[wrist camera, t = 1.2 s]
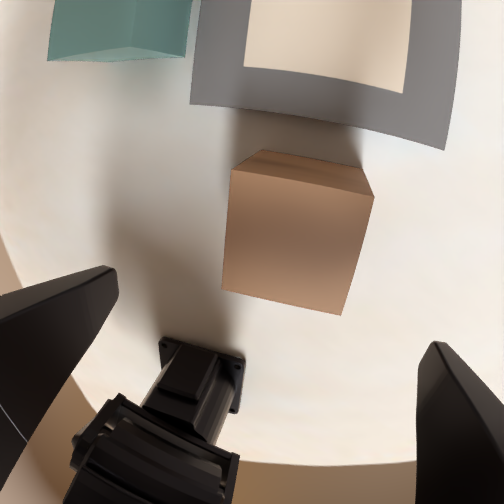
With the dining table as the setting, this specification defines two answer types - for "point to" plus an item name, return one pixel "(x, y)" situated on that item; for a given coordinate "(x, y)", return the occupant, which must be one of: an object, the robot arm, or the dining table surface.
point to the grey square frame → (333, 61)
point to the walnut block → (295, 230)
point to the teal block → (118, 30)
